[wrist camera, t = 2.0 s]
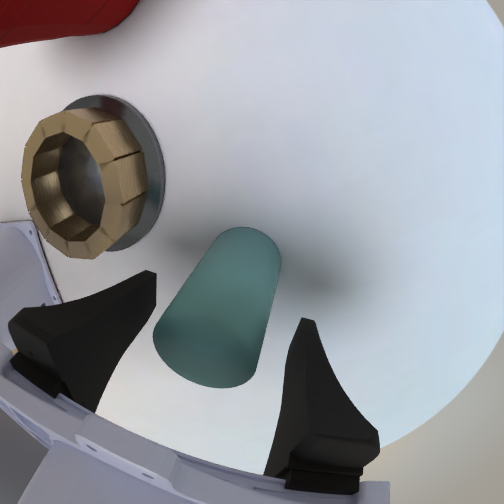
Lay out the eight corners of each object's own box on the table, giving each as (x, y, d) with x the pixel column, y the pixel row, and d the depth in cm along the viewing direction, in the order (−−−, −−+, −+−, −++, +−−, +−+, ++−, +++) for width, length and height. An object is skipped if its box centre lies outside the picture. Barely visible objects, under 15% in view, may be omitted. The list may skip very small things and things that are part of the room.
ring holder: (177, 250, 19) (153, 277, 16) (65, 245, 21) (38, 265, 18) (155, 77, 14) (122, 73, 11) (39, 116, 16) (6, 124, 13)
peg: (281, 292, 19) (259, 394, 12) (215, 288, 20) (167, 378, 13) (280, 227, 17) (253, 318, 10) (207, 226, 18) (141, 305, 11)
